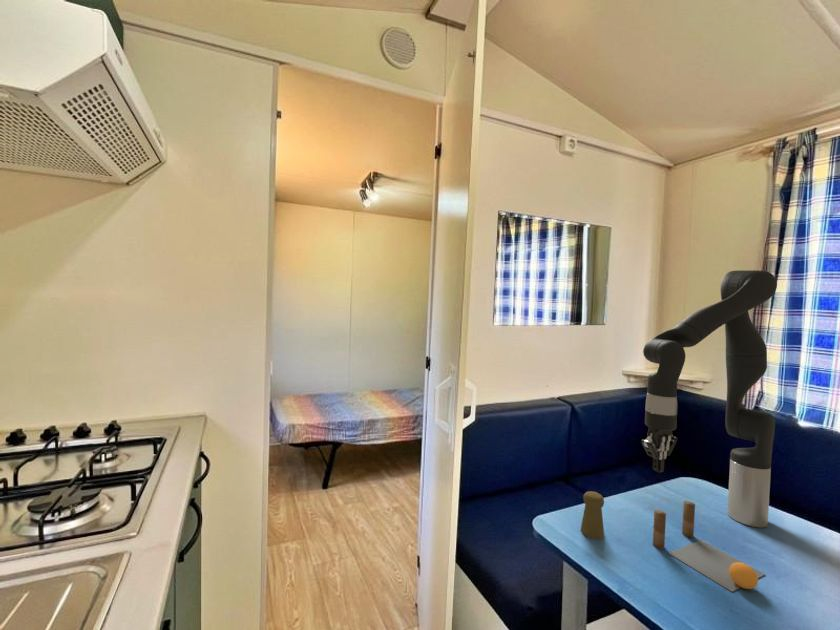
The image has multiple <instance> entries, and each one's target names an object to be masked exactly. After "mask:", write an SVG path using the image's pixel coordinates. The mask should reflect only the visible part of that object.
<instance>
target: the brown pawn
mask: <svg viewBox="0 0 840 630" xmlns="http://www.w3.org/2000/svg"><path fill="white" fill-rule="evenodd" d="M583 503H584V504H585V505H584V510H583V515H582V520H581V525H580V532H581V534H583V535H584V536H585V537H587V538H589V539H592V540H593V539H594V540H602V539H603V538H604V537H605V529H604V519H603V508H604V505H605V500H604V497H603V495H602V494H600V493H598V492H597V491H591V490H590V491H589V490H588V491H585V493H584V494H583Z"/></svg>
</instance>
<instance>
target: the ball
mask: <svg viewBox="0 0 840 630" xmlns="http://www.w3.org/2000/svg"><path fill="white" fill-rule="evenodd" d="M744 563H745V562H743V563H740V562H737V563H733V564H732V565H731V566H730V568H729V574H730V577H731V578H732V580H733V581H734V582H735V583H736V584H737V585H738V586H740V587H741V588H742V589H746V590H752V589H754V588H755V587H757V585H758V583H759V578H758V577H757V575H756V573H755V571H754V570H753V569H752V568H751V567H752V566H751V567H749V566H750V565H749V564H747V563H745V564H744ZM746 564H747V565H746ZM748 565H749V566H748Z"/></svg>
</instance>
